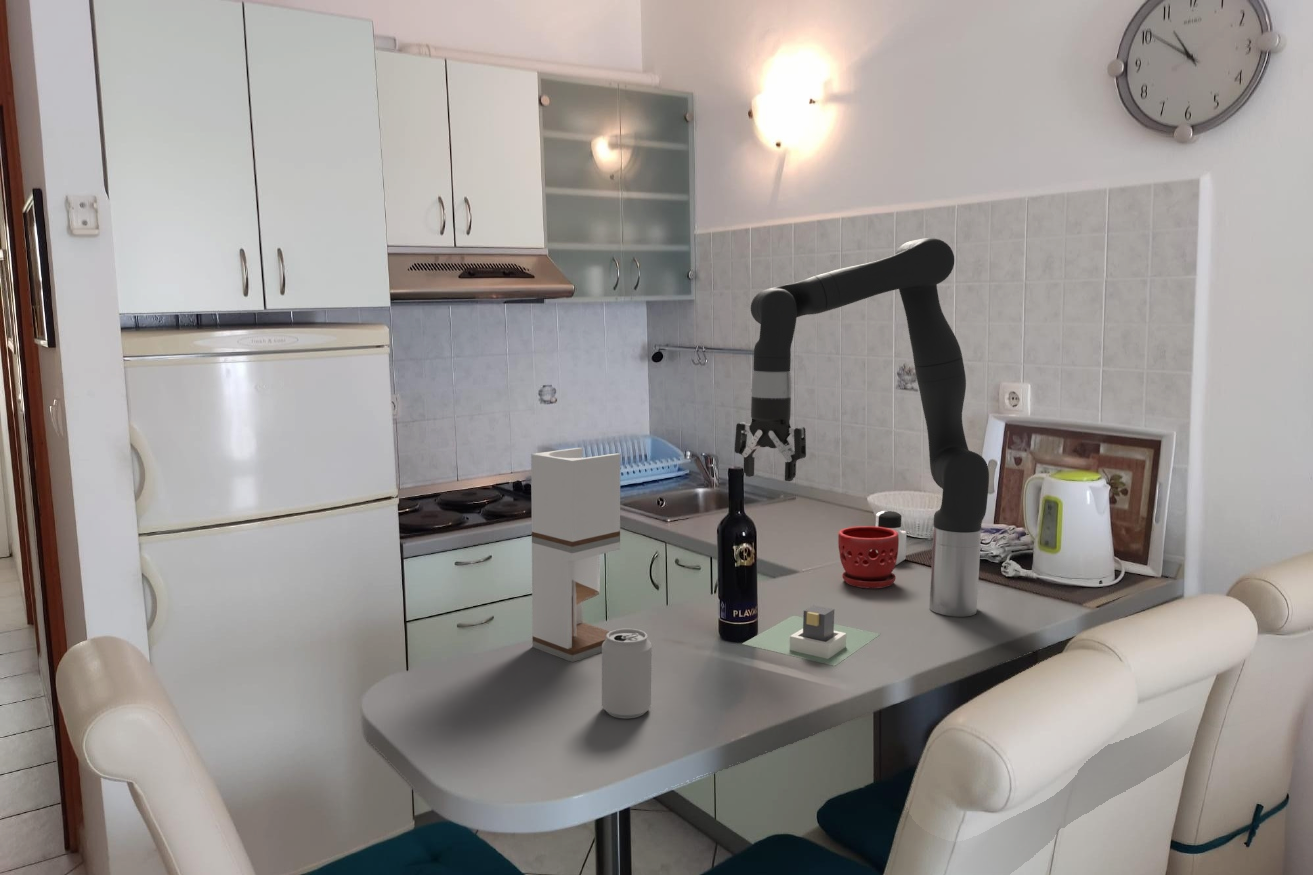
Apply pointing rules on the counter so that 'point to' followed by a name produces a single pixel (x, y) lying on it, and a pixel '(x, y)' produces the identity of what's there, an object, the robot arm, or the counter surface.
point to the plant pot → (868, 555)
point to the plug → (818, 623)
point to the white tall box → (570, 545)
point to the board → (811, 642)
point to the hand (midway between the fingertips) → (769, 478)
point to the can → (626, 673)
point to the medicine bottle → (893, 522)
